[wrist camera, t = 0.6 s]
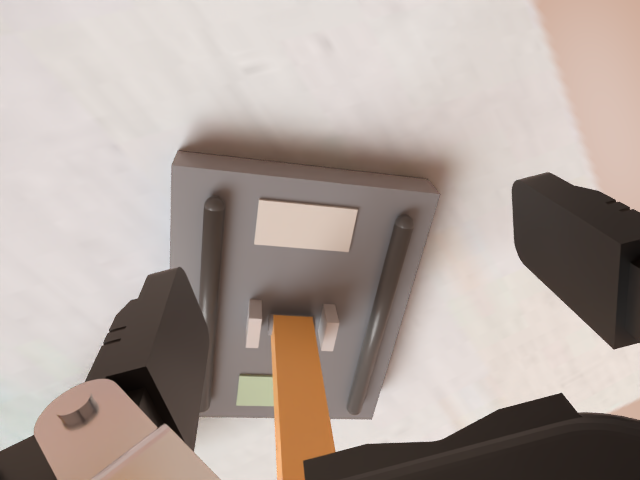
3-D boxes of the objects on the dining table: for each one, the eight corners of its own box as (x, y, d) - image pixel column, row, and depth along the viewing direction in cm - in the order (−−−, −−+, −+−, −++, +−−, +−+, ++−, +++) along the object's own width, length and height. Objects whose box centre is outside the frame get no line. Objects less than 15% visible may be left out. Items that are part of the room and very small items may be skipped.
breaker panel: (177, 150, 29) (165, 178, 25) (427, 178, 32) (452, 207, 28) (172, 391, 38) (163, 438, 34) (365, 395, 41) (377, 440, 37)
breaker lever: (268, 308, 32) (277, 508, 20) (315, 310, 32) (351, 507, 20) (265, 327, 32) (272, 531, 21) (312, 329, 33) (344, 529, 21)
